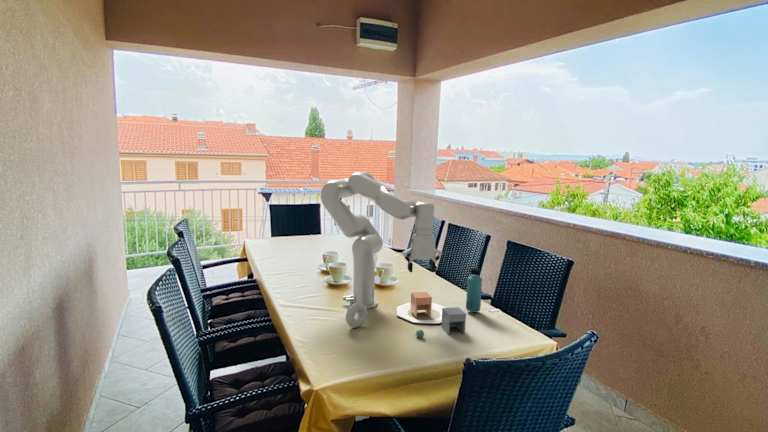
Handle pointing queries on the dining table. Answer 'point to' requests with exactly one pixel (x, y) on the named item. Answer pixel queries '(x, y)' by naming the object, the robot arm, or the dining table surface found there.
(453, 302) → the dining table surface
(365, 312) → the donut
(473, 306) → the beverage bottle
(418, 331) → the marble
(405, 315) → the plate
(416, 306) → the pink open box
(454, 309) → the open-front grey box
